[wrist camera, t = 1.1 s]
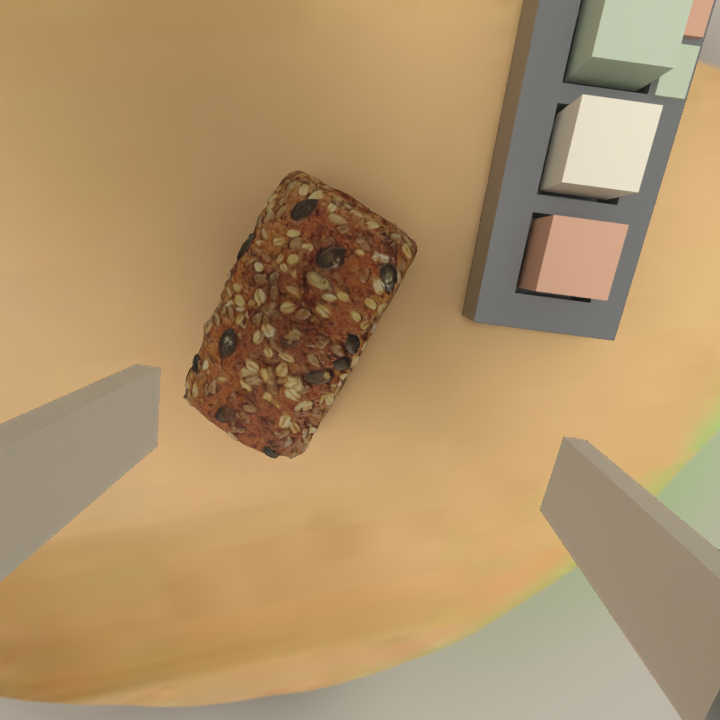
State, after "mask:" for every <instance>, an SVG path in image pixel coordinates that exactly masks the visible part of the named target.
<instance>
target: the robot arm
mask: <svg viewBox="0 0 720 720" xmlns="http://www.w3.org/2000/svg"><path fill="white" fill-rule="evenodd" d="M160 373H161V368H157V367H152V366H146V365H140V364H136V365H133V366H131V367H129V368H127V369H124V370H122V371H120V372H118V373H115V374H113V375H111V376H108V377H106V378H104V379H102V380H99V381H97V382H95V383H93V384H90V385H88V386H86V387H83V388H81V389H79V390H77V391H74V392H72V393H70V394H68V395H65V396H63V397H61V398H58V399H56V400H54V401H52V402H49V403H47V404H45V405H43V406H40V407H38V408H36V409H34V410H31V411H29V412H27V413H24V414H22V415H20V416H18V417H15V418H13V419H11V420H9V421H6V422H4V423H2V424H0V582H1V581H2V580H3V579H4V578H5V577H7V576H8V575H9V574H10V573H11V572H12V571H14V570H15V569H16V568H17V567H18V566H19V565H20V564H22V563H23V562H24V561H25V560H26V559H27V558H29V557H30V556H31V555H32V554H33V553H34V552H35V551H37V550H38V549H39V548H40V547H41V546H42V545H44V544H45V543H46V542H47V541H48V540H49V539H50V538H52V537H53V536H54V535H55V534H56V533H57V532H59V531H60V530H61V529H62V528H63V527H64V526H65V525H67V524H68V523H69V522H70V521H71V520H72V519H74V518H75V517H76V516H77V515H78V514H79V513H80V512H82V511H83V510H84V509H85V508H86V507H87V506H89V505H90V504H91V503H92V502H93V501H94V500H95V499H97V498H98V497H99V496H100V495H101V494H102V493H104V492H105V491H106V490H107V489H108V488H109V487H110V486H112V485H113V484H114V483H115V482H116V481H117V480H119V479H120V478H121V477H122V476H123V475H124V474H125V473H127V472H128V471H129V470H130V469H131V468H132V467H134V466H135V465H136V464H137V463H138V462H139V461H140V460H142V459H143V458H144V457H145V456H146V455H147V454H149V453H150V452H151V451H152V450H153V449H154V448H156V447H157V437H158V416H159V395H160ZM540 511H541V512H542V514H543V515H544V517H545V518H546V520H547V521H548V523H549V524H550V526H551V527H552V529H553V530H554V531H555V533H556V534H557V536H558V537H559V539H560V540H561V542H562V543H563V545H564V546H565V548H566V549H567V551H568V552H569V554H570V555H571V557H572V558H573V559H574V561H575V562H576V564H577V565H578V567H579V568H580V570H581V571H582V573H583V574H584V576H585V577H586V579H587V580H588V582H589V583H590V585H591V586H592V587H593V589H594V590H595V592H596V593H597V595H598V596H599V598H600V599H601V601H602V602H603V604H604V605H605V607H606V608H607V610H608V611H609V613H610V614H611V615H612V617H613V618H614V620H615V621H616V623H617V624H618V626H619V627H620V629H621V630H622V632H623V633H624V635H625V636H626V638H627V639H628V641H629V642H630V643H631V645H632V646H633V648H634V649H635V651H636V652H637V653H638V655H639V657H640V658H641V660H642V661H643V663H644V664H645V666H646V667H647V668H648V670H649V671H650V673H651V674H652V676H653V677H654V679H655V680H656V682H657V683H658V685H659V686H660V688H661V689H662V691H663V692H664V694H665V695H666V697H667V698H668V699H669V701H670V702H671V704H672V705H673V707H674V708H675V710H676V711H677V713H678V714H679V716H680V717H681V719H682V720H720V550H719V549H717V548H716V547H714V546H713V545H712V544H711V543H710V542H708V541H707V540H706V539H705V538H704V537H702V536H701V535H700V534H699V533H698V532H696V531H695V530H694V529H693V528H692V527H690V526H689V525H688V524H687V523H686V522H684V521H683V520H682V519H680V517H678V516H677V515H676V514H675V513H674V512H672V511H671V510H670V509H669V508H668V507H666V506H665V505H664V504H663V503H661V502H660V501H659V500H658V499H657V498H655V497H654V496H653V495H652V494H651V493H649V492H648V491H647V490H646V489H645V488H643V487H642V486H641V485H640V484H639V483H637V482H636V481H635V480H634V479H633V478H631V477H630V476H629V475H628V474H627V473H625V472H624V471H623V470H622V469H621V468H619V467H618V466H617V465H616V464H615V463H613V462H612V461H611V460H610V459H609V458H607V457H606V456H605V455H604V454H603V453H601V452H600V451H599V450H598V449H597V448H595V447H594V446H593V445H592V444H591V443H589V442H588V441H587V440H582V439H576V438H570V437H563V440H562V443H561V446H560V449H559V452H558V455H557V458H556V462H555V465H554V468H553V471H552V474H551V477H550V480H549V483H548V486H547V489H546V493H545V496H544V499H543V502H542V505H541V508H540Z"/></svg>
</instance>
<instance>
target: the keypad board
mask: <svg viewBox="0 0 720 720" xmlns="http://www.w3.org/2000/svg"><path fill="white" fill-rule="evenodd" d="M715 2H716V0H693V4H692V7H691V11H690V14H689V18H688V21H687V25H686V28H685V32H684V35H683V39H682V42H681V46H680V49H679V53H678V56H677V59H676V63H675V66H674V68H673V69H672V70H670V71H668V72H667V73H665V74H664V75H662V76H660V77H659V78H657V79H655V80H654V81H652V82H651V83H649V84H647V85H646V86H644V87H643V88H641V89H639V90H638V91H628V90H621V89H614V88H607V87H599V86H592V85H585V84H578V83H570V82H564V80H565V75H566V71H567V66H568V62H569V58H570V53H571V49H572V44H573V40H574V36H575V31H576V27H577V22H578V18H579V14H580V9H581V5H582V0H524V1H523V6H522V11H521V16H520V21H519V26H518V32H517V37H516V42H515V47H514V52H513V57H512V62H511V67H510V72H509V78H508V83H507V88H506V93H505V98H504V103H503V108H502V113H501V119H500V124H499V129H498V134H497V139H496V144H495V149H494V154H493V159H492V165H491V170H490V175H489V180H488V185H487V190H486V195H485V200H484V205H483V211H482V216H481V221H480V226H479V231H478V236H477V241H476V246H475V252H474V257H473V262H472V267H471V272H470V277H469V282H468V287H467V292H466V298H465V303H464V308H463V313H462V315H463V316H465V317H466V318H468V319H470V320H471V321H473V322H477V323H484V324H492V325H499V326H507V327H515V328H522V329H530V330H537V331H545V332H552V333H560V334H568V335H575V336H583V337H590V338H598V339H605V340H613V341H614V340H615V336H616V333H617V330H618V326H619V323H620V319H621V316H622V313H623V309H624V306H625V303H626V299H627V296H628V293H629V289H630V286H631V283H632V279H633V276H634V273H635V269H636V266H637V263H638V259H639V256H640V253H641V249H642V246H643V243H644V239H645V236H646V232H647V229H648V226H649V222H650V219H651V216H652V212H653V209H654V206H655V202H656V199H657V196H658V192H659V189H660V186H661V182H662V179H663V176H664V172H665V169H666V166H667V162H668V159H669V156H670V152H671V149H672V145H673V142H674V139H675V135H676V132H677V129H678V125H679V122H680V119H681V115H682V112H683V109H684V105H685V102H686V99H687V95H688V92H689V89H690V85H691V82H692V79H693V75H694V72H695V69H696V65H697V62H698V59H699V55H700V52H701V48H702V45H703V42H704V38H705V35H706V32H707V28H708V25H709V22H710V18H711V15H712V11H713V8H714V5H715ZM582 94H584V95H592V96H599V97H606V98H614V99H621V100H628V101H635V102H643V103H650V104H657V105H663V108H662V112H661V115H660V119H659V122H658V126H657V129H656V133H655V136H654V140H653V143H652V147H651V150H650V154H649V157H648V161H647V164H646V168H645V171H644V175H643V178H642V182H641V185H640V188H639V192H638V193H634V194H630V195H626V196H621V197H617V198H613V199H609V200H603V199H596V198H588V197H581V196H574V195H566V194H559V193H552V192H544V191H539V190H540V185H541V181H542V177H543V172H544V168H545V163H546V159H547V155H548V150H549V146H550V141H551V137H552V132H553V128H554V124H555V119H556V115H557V114H558V113H559V112H560V111H562V110H563V109H564V108H565V107H567V106H568V105H569V104H571V103H572V102H573V101H575V100H576V99H577V98H579V97H580V96H581V95H582ZM551 215H560V216H567V217H574V218H582V219H589V220H597V221H604V222H612V223H619V224H626V225H629V227H628V230H627V234H626V237H625V241H624V244H623V248H622V251H621V255H620V258H619V262H618V265H617V269H616V272H615V276H614V279H613V283H612V286H611V290H610V293H609V297H608V300H607V301H606V300H598V299H591V298H583V297H576V296H568V295H561V294H553V293H546V292H538V291H532V290H527V289H523V288H518V282H519V278H520V273H521V269H522V265H523V260H524V256H525V251H526V247H527V243H528V238H529V234H530V229H531V225H532V221H533V219H538V218H542V217H546V216H551Z"/></svg>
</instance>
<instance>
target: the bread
mask: <svg viewBox="0 0 720 720" xmlns="http://www.w3.org/2000/svg"><path fill="white" fill-rule="evenodd" d="M267 203H268V206H267V207H266V208H265V209H264V210H263V211H262V213H261V214H260V215H259V218H258V221H257V224H256V227H255V230H254V233H252V234H250V235H249V238H248V239H247V240H246V241H245V242H244V243H243V245H242V247H241V249H240V251H239V253H238V256H237V262H236V264H235V265H234V266H233V268H232V269H231V270H230V272H229V274H228V276H229V279H228V280H227V281H226V283H225V288H224V290H223V292H222V293H221V302H220V303H219V305H218V307H217V308H216V310H215V311H214V314H213V316H212V317H211V318H210V319H209V320H208V321H207V322H206V323H205V325H204V338H203V343H202V346H201V349H200V351H199V353H198V354H196V355H195V356H194V359H193V366H192V367H191V368H190V369H189V372H188V374H187V377H186V383H185V387H186V394H185V395H184V397H183V398H184V399H186V400H187V402H188V403H189V404H190V406H193V407H195V408H196V409H197V410H198V411H199V412H200V413H202V414H203V415H204V416H205V417H206V418H207V419H208V420H209V421H211V422H213V423H214V424H215V425H217V426H218V427H219V428H220V429H222V430H223V431H225V432H227V435H228V436H229V437H230V438H232V439H234V440H236V441H240V442H241V443H242V444H244V445H246V446H249V447H251V448H253V449H255V450H258V451H260V452H263V453H265V454H266V455H267V456H269V457H271V458H277V457H278V456H279V455H281V456H287V457H289V458H290V459H292V458H294V457H296V456H297V455H300V454H302V453H303V452H304V451H305V450H306V448H307V446H308V444H309V442H310V440H311V438H312V436H313V434H314V433H316V430H317V428H318V426H319V424H320V422H321V420H322V418H323V417H324V415H325V414H326V413H327V412H328V410H329V409H330V407H331V405H332V404H333V402H334V399H335V396H338V394H339V392H340V390H341V389H342V387H343V385H344V384H345V382H346V379H347V377H348V376H349V374H350V372H351V371H352V370H353V368H354V366H355V365H356V364H357V361H358V359H359V357H360V355H361V352H362V351H363V350H364V348H365V346H366V344H367V341H368V339H369V338H370V336H371V335H372V333H373V332H374V329H375V326H376V324H377V322H378V320H379V318H380V316H381V315H382V313H383V312H384V311H385V309H386V308H387V306H388V305H389V303H390V301H391V300H392V298H393V296H394V294H395V292H396V291H397V289H398V287H399V285H400V282H401V281H402V279H403V278H404V275H405V273H406V271H407V269H408V267H409V265H410V264H411V263H412V261H413V260H414V258H415V255H416V252H417V245H416V243H415V241H413V240H412V239H411V238H410V237H408V235H407V234H406V233H405V232H404V231H403V230H402V229H400V228H398V227H397V226H396V225H394V224H392V223H390V222H388V221H387V220H385V219H384V218H382V217H381V216H379V215H377V214H375V213H374V212H372V211H370V210H369V209H368V208H367V207H365V206H364V205H362V204H361V203H360V202H358V201H357V200H355V199H354V198H353V197H351V196H349V195H348V194H346V193H344V192H341V191H339V190H336V189H333V188H331V187H329V186H327V185H326V184H324V183H323V182H321V181H320V180H319V179H317V178H315V177H311V176H309V175H308V174H306V173H304V172H302V171H298V170H297V171H294V172H291V173H289V174H288V175H287V176H286V177H285V178H284V179H283V180H282V181H281V183H280V184H279V187H278V188H277V189H276V190H275V191H274V193H273V194H272V195H271V196H270V198H269V199H268V201H267Z"/></svg>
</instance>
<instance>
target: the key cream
mask: <svg viewBox="0 0 720 720" xmlns="http://www.w3.org/2000/svg"><path fill="white" fill-rule="evenodd" d="M662 108H663V105H657V104H650V103H643V102H635V101H628V100H621V99H614V98H606V97H599V96H592V95H584V94H582V95H581V96H580V97H579V98H577V99H576V100H575V101H573V102H572V103H571V104H569V105H568V106H567V107H565V108H564V109H563V110H562V111H560V112H559V113H558V114H557V115H556V119H555V124H554V128H553V132H552V137H551V141H550V146H549V150H548V155H547V159H546V163H545V168H544V172H543V177H542V181H541V185H540V190H539V191H544V192H552V193H559V194H566V195H574V196H581V197H588V198H596V199H603V200H609V199H613V198H617V197H621V196H626V195H630V194H634V193H638V192H639V188H640V185H641V182H642V178H643V175H644V171H645V168H646V164H647V161H648V157H649V154H650V150H651V147H652V143H653V140H654V136H655V133H656V129H657V126H658V122H659V119H660V115H661V112H662Z"/></svg>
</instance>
